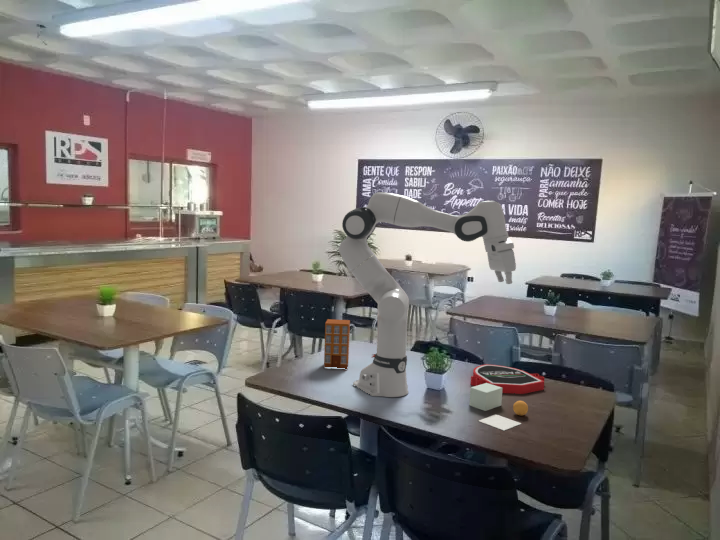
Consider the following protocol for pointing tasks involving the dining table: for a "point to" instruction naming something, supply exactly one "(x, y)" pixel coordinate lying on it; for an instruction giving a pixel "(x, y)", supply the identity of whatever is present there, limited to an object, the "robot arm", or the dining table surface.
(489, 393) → the pale green rectangular prism
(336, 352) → the miniature building
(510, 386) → the emblem
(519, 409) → the ball
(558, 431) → the dining table surface
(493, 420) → the mark
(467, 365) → the dining table surface
